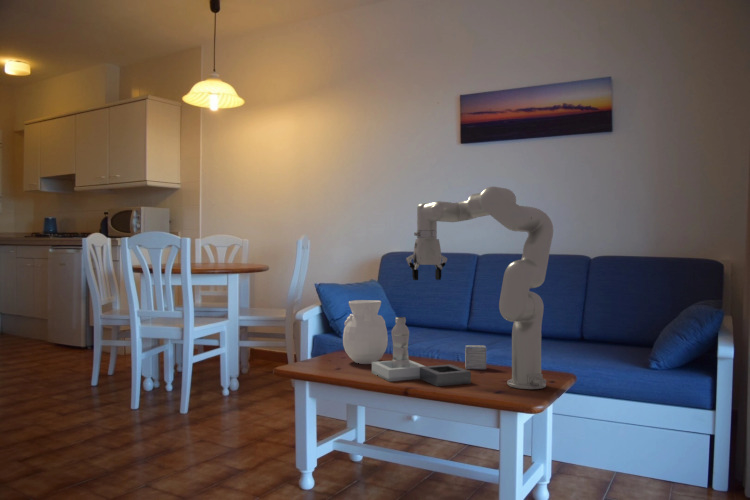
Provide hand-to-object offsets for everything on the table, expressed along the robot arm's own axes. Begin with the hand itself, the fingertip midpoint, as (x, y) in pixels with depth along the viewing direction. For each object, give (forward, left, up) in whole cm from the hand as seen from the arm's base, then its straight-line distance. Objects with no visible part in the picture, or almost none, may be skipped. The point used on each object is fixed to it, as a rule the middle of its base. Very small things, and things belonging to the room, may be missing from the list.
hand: (426, 279), depth 223 cm
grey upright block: (-6, -18, -35) cm, 39 cm away
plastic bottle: (-7, +14, -34) cm, 37 cm away
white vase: (+22, +17, -34) cm, 44 cm away
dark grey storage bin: (-21, +4, -34) cm, 40 cm away
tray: (-7, +15, -34) cm, 38 cm away
